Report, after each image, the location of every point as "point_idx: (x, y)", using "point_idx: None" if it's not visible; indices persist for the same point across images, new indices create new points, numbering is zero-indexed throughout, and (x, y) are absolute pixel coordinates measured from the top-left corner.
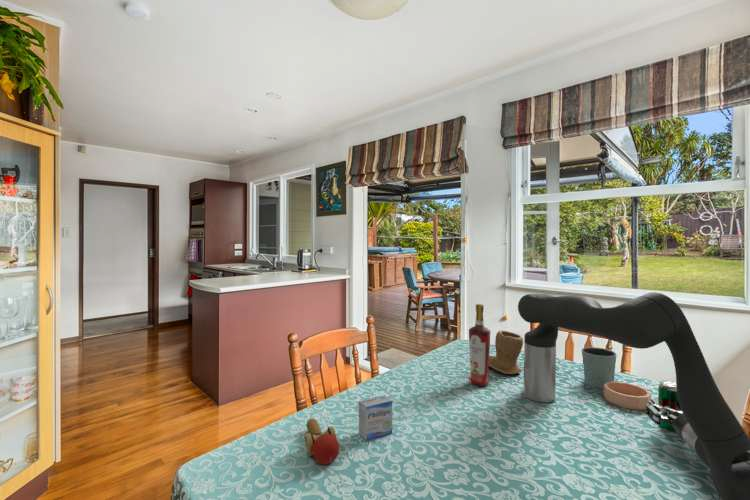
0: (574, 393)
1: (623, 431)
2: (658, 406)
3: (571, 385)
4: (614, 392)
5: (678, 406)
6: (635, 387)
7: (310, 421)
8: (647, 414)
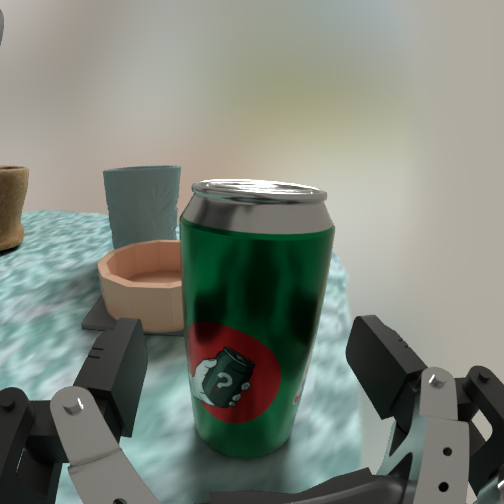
0: (53, 285)
1: None
2: (67, 428)
3: (79, 263)
4: (101, 276)
5: (286, 357)
6: None
7: None
8: (23, 463)
